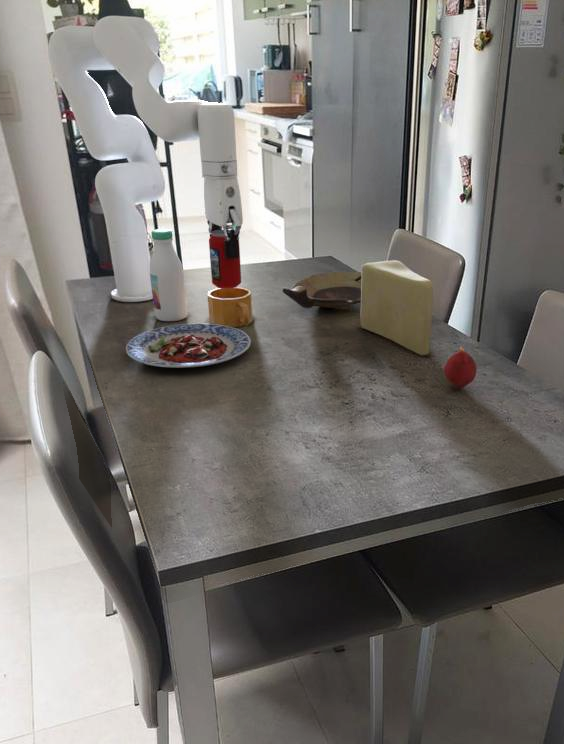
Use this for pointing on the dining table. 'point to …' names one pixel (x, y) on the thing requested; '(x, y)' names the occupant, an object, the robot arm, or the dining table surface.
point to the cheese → (397, 304)
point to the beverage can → (223, 263)
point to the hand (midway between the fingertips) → (224, 254)
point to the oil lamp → (327, 290)
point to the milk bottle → (167, 279)
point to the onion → (460, 369)
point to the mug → (230, 306)
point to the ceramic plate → (188, 345)
